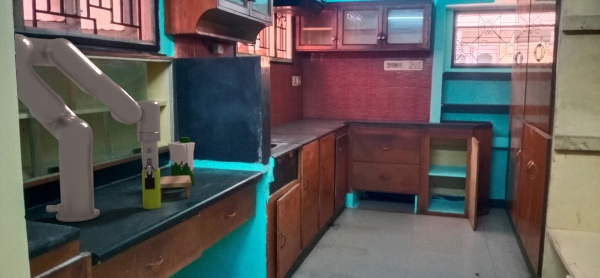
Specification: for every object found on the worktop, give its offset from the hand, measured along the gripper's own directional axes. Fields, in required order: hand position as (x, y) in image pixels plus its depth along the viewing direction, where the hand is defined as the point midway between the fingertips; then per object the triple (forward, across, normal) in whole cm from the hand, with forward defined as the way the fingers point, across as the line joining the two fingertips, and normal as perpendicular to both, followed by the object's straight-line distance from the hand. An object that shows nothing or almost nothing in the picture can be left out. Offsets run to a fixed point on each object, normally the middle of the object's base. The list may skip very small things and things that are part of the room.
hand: (150, 185), depth 164 cm
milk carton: (+7, +30, -12) cm, 33 cm away
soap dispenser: (+7, 0, 0) cm, 7 cm away
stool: (+7, +15, -8) cm, 19 cm away
